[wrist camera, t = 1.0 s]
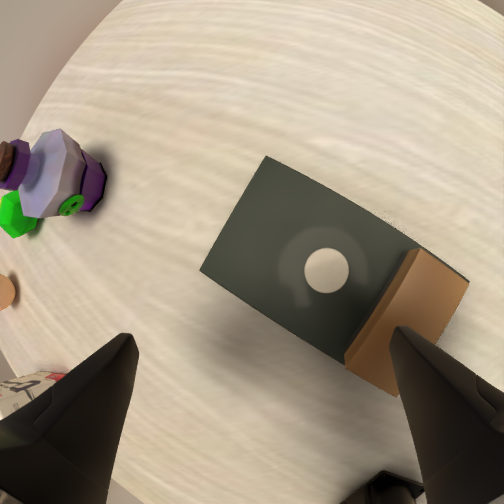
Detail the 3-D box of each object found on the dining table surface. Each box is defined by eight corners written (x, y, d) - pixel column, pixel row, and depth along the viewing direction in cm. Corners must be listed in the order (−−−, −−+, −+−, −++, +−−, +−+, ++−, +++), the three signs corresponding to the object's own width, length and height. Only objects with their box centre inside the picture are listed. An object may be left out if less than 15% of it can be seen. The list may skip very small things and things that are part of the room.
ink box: (71, 373, 27) (-7, 399, 15) (84, 410, 26) (13, 444, 15) (39, 369, 29) (-26, 388, 17) (50, 402, 28) (-11, 426, 17)
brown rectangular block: (445, 279, 17) (469, 283, 13) (385, 374, 18) (396, 397, 14) (403, 250, 18) (420, 247, 14) (342, 348, 19) (345, 368, 15)
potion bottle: (93, 242, 26) (-10, 234, 14) (57, 205, 28) (-28, 189, 16) (131, 164, 25) (31, 120, 13) (88, 138, 27) (6, 102, 15)
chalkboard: (466, 280, 17) (470, 281, 16) (395, 392, 18) (397, 395, 17) (267, 157, 21) (265, 155, 21) (202, 270, 22) (198, 270, 22)
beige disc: (356, 262, 19) (357, 262, 18) (333, 300, 19) (333, 301, 18) (319, 240, 19) (319, 239, 19) (296, 277, 20) (295, 278, 19)
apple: (-2, 210, 21) (-22, 200, 23) (19, 254, 25) (-5, 237, 27) (42, 176, 26) (15, 172, 28) (58, 220, 30) (29, 208, 32)
